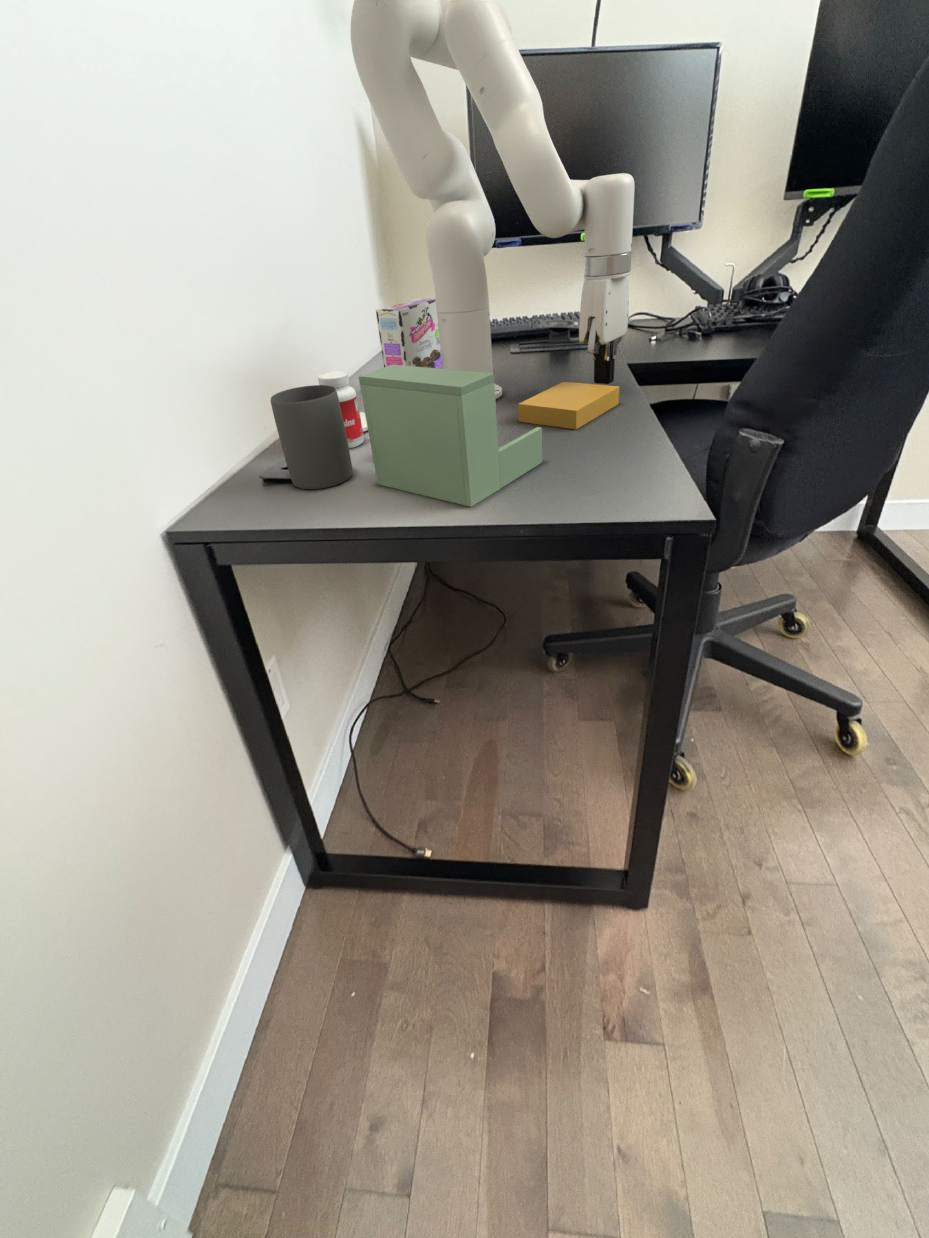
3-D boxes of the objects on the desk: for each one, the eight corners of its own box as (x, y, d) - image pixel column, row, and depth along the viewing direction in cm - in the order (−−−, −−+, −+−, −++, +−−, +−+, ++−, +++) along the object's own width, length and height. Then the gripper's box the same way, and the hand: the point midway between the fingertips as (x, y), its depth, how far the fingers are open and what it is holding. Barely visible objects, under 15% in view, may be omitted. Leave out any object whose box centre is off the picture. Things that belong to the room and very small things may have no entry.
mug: (366, 474, 88) (350, 389, 81) (313, 495, 83) (291, 406, 76) (315, 457, 96) (297, 378, 89) (265, 475, 91) (241, 393, 84)
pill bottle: (325, 452, 98) (309, 381, 91) (330, 440, 103) (316, 372, 96) (362, 448, 97) (349, 377, 91) (366, 436, 103) (354, 368, 96)
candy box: (410, 401, 119) (398, 309, 109) (387, 399, 122) (373, 309, 112) (448, 383, 128) (440, 297, 119) (426, 382, 131) (416, 297, 122)
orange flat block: (563, 398, 111) (563, 381, 109) (618, 404, 105) (619, 386, 103) (518, 421, 102) (518, 403, 100) (576, 429, 96) (576, 410, 94)
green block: (452, 446, 94) (442, 347, 86) (542, 462, 85) (541, 353, 77) (377, 484, 84) (358, 376, 76) (471, 507, 75) (460, 387, 67)
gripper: (607, 262, 106) (603, 371, 116) (564, 274, 97) (565, 392, 107) (647, 260, 102) (640, 373, 112) (607, 272, 92) (603, 395, 103)
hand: (603, 382), depth 109 cm, fingers closed
